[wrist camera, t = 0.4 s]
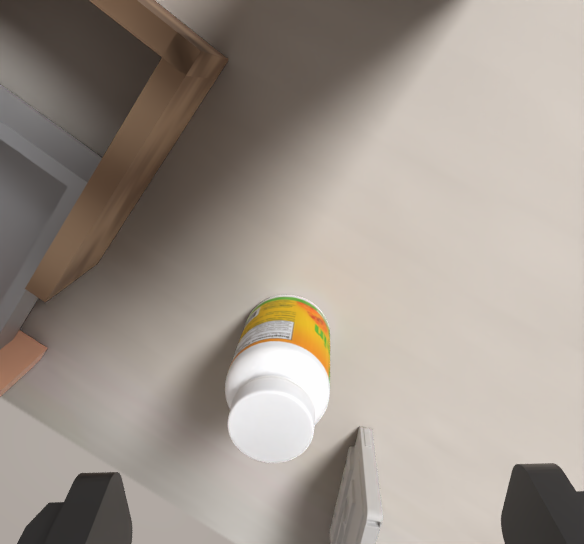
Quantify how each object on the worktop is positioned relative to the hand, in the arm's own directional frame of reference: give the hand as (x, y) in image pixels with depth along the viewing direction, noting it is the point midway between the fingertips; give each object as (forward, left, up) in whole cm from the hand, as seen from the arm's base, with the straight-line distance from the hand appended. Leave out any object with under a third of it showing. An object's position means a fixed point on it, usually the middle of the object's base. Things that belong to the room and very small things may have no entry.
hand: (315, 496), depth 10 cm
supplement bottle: (+7, 0, -20) cm, 21 cm away
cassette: (+18, +8, -20) cm, 28 cm away
